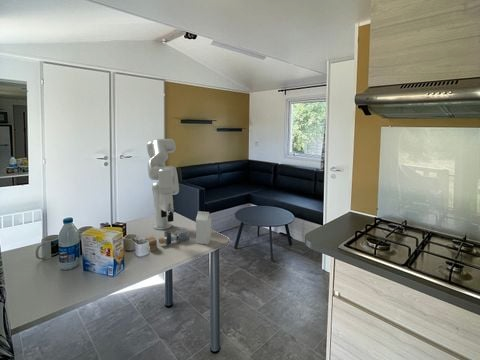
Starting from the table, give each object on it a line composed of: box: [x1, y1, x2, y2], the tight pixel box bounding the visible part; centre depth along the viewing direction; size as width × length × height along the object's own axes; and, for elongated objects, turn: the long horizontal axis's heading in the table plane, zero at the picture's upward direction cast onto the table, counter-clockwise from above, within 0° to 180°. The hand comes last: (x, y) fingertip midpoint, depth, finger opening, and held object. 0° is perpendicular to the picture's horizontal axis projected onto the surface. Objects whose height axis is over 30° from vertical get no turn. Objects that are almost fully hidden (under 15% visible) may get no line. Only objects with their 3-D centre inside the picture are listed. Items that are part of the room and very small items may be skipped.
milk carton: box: [195, 210, 212, 245], centre depth 166 cm, size 7×7×19 cm
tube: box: [158, 230, 178, 246], centre depth 165 cm, size 4×17×7 cm, turn 127°
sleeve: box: [174, 228, 190, 244], centre depth 168 cm, size 5×7×6 cm
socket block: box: [144, 235, 158, 252], centre depth 157 cm, size 7×4×6 cm, turn 37°
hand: (167, 219), depth 160 cm, fingers open, 9 cm apart
